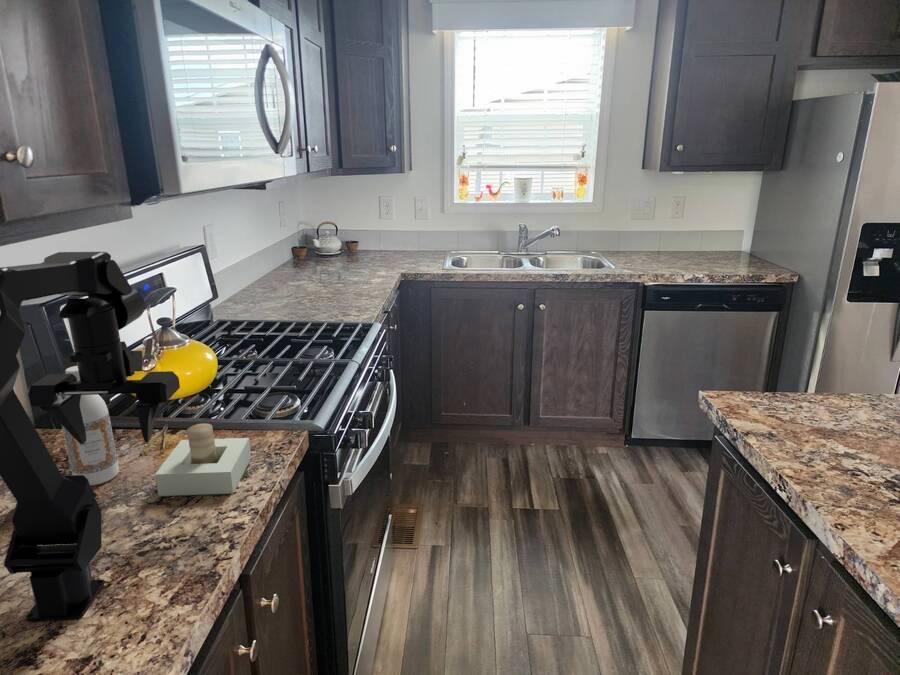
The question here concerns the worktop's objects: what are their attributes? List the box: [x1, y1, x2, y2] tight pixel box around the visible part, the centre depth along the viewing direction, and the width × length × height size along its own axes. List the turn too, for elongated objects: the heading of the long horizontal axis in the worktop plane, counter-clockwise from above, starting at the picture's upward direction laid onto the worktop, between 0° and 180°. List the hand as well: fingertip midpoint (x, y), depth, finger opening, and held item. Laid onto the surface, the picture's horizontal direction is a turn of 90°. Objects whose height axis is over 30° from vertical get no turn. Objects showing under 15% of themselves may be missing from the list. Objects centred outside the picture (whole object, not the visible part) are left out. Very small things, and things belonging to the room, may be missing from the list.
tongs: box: [140, 424, 169, 456], centre depth 118 cm, size 4×13×2 cm, turn 16°
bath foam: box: [61, 365, 120, 487], centre depth 102 cm, size 7×7×20 cm
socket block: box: [154, 437, 252, 497], centre depth 105 cm, size 12×12×4 cm
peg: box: [186, 423, 218, 464], centre depth 104 cm, size 4×4×9 cm
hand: (115, 441), depth 89 cm, fingers open, 9 cm apart
